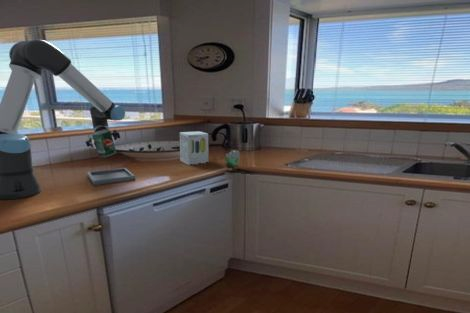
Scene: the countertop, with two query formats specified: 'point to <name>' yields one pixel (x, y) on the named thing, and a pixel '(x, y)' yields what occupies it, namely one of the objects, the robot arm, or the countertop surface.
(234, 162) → the food container
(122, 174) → the tray
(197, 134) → the supplement box
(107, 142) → the canned tomato
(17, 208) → the countertop surface
